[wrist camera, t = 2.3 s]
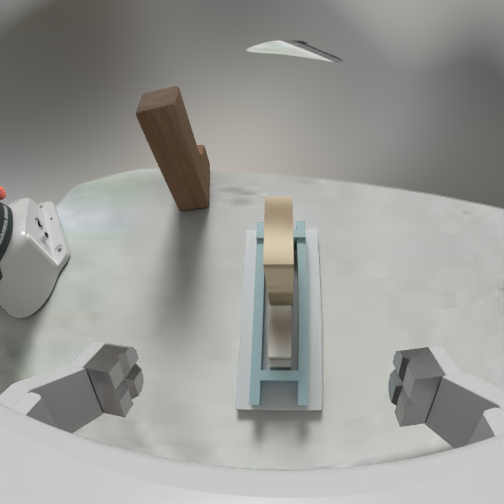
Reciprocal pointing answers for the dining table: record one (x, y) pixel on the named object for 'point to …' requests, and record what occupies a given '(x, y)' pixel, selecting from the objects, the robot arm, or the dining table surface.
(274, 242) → the beige rectangular slab
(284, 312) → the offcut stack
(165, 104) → the wooden block
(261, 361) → the rack
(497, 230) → the dining table surface
